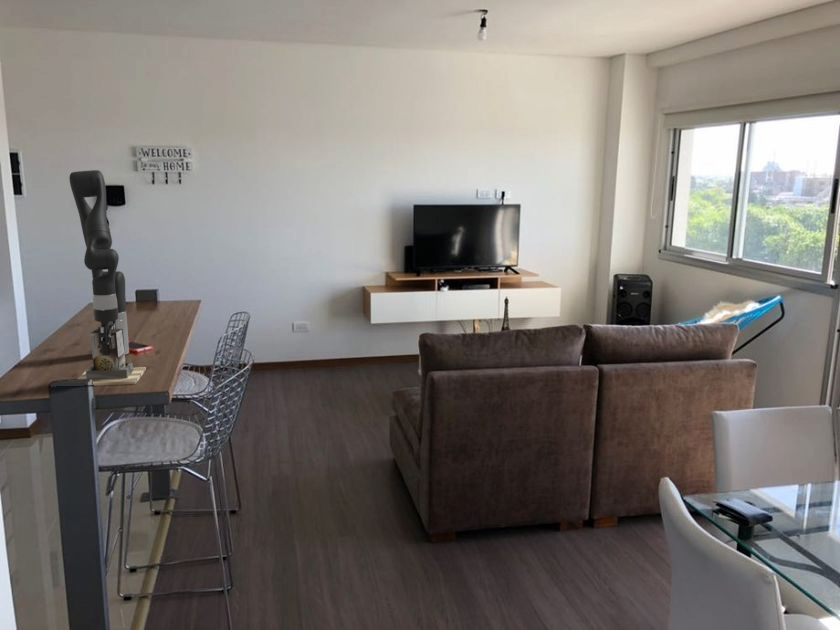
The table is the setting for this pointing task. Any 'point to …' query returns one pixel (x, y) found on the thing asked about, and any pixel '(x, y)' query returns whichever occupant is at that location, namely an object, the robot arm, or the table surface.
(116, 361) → the coffee box
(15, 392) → the table surface
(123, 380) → the mount plate
